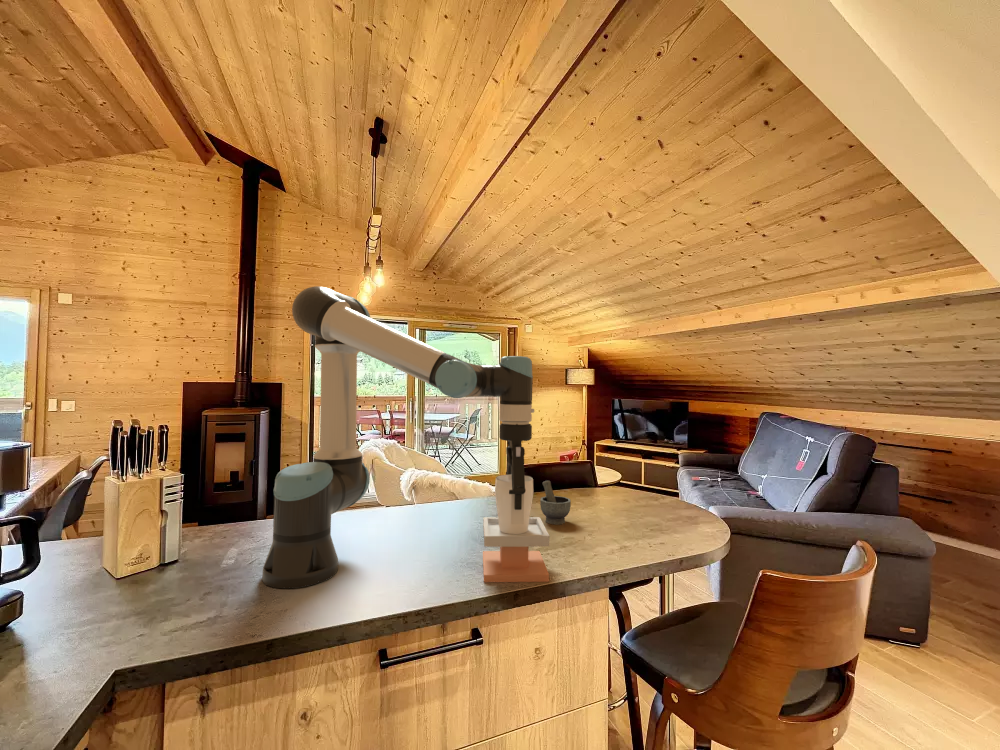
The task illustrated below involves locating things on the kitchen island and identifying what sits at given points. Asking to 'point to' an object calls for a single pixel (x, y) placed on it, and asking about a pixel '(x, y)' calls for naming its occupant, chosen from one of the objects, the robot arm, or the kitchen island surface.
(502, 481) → the cup
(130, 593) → the kitchen island surface
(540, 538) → the stand
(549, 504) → the mortar and pestle
